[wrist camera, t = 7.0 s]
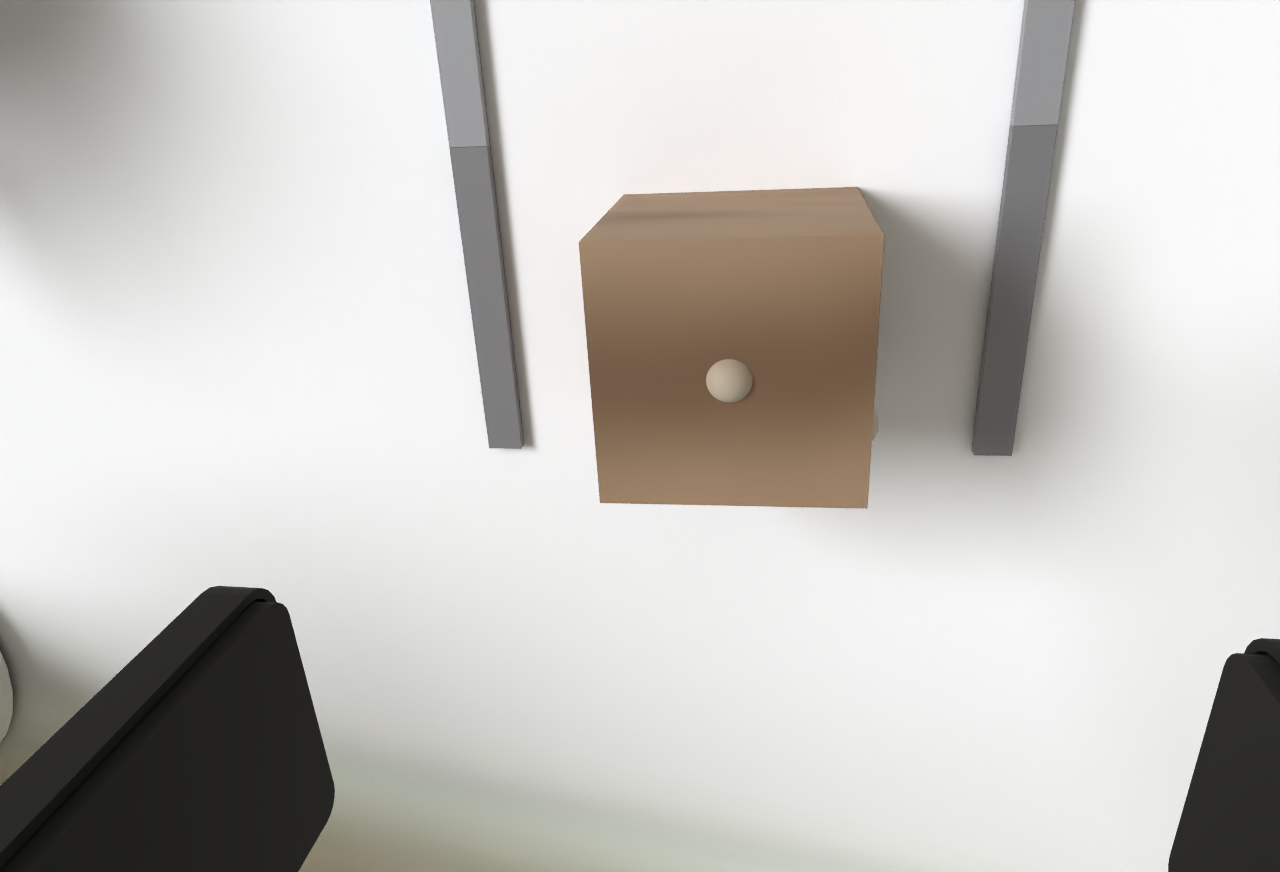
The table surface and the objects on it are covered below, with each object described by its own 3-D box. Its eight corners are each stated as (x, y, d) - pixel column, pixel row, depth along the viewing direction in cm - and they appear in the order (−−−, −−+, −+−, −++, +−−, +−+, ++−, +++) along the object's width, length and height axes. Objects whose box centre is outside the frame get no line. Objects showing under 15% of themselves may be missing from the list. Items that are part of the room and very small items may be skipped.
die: (857, 404, 25) (882, 515, 19) (636, 404, 25) (597, 509, 20) (869, 185, 22) (902, 237, 16) (624, 194, 23) (575, 244, 17)
